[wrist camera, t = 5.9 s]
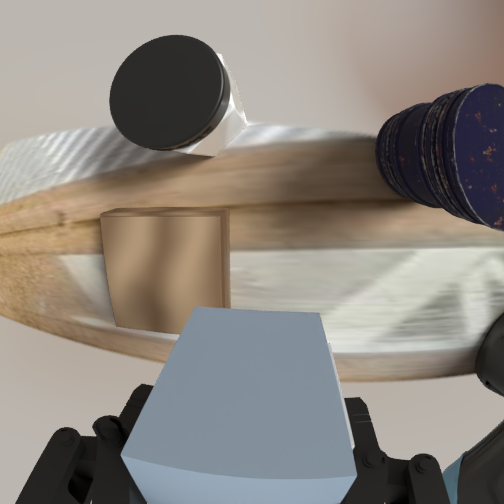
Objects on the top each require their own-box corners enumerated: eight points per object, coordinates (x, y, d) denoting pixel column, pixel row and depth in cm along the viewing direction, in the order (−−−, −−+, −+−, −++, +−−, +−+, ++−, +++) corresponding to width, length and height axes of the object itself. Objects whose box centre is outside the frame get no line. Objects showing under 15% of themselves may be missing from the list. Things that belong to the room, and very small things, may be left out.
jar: (154, 144, 29) (90, 137, 17) (176, 72, 27) (125, 31, 15) (235, 164, 29) (209, 164, 18) (259, 89, 27) (248, 44, 15)
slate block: (319, 312, 14) (357, 475, 5) (304, 401, 16) (314, 539, 7) (195, 306, 14) (120, 454, 6) (202, 394, 16) (163, 526, 8)
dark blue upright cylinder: (361, 119, 27) (430, 86, 12) (437, 103, 25) (527, 79, 11) (388, 212, 29) (467, 252, 15) (459, 189, 27) (552, 213, 13)
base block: (229, 207, 30) (222, 213, 26) (230, 322, 34) (225, 340, 30) (116, 208, 31) (97, 214, 27) (128, 312, 35) (114, 328, 31)
